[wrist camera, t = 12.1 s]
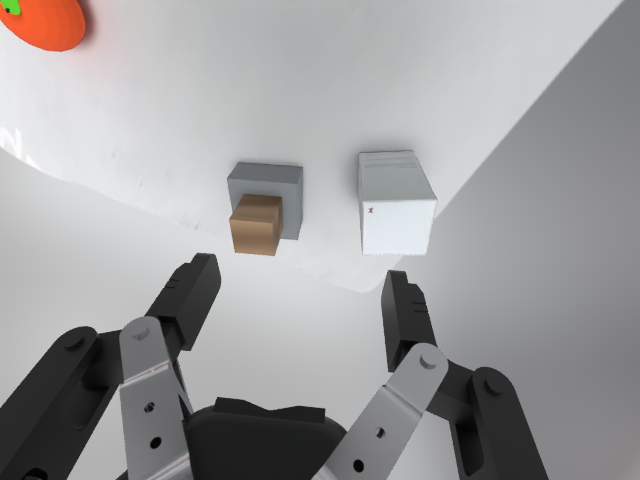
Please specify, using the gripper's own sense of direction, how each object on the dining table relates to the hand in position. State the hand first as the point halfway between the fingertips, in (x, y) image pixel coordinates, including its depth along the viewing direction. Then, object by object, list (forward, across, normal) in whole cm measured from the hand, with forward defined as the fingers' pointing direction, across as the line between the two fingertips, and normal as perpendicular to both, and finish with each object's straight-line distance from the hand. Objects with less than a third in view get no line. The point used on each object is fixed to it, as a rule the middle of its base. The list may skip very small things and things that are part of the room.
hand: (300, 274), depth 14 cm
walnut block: (+23, +8, +12) cm, 27 cm away
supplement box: (+28, -8, +8) cm, 30 cm away
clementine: (+28, +29, -9) cm, 42 cm away
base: (+28, +8, +12) cm, 32 cm away
